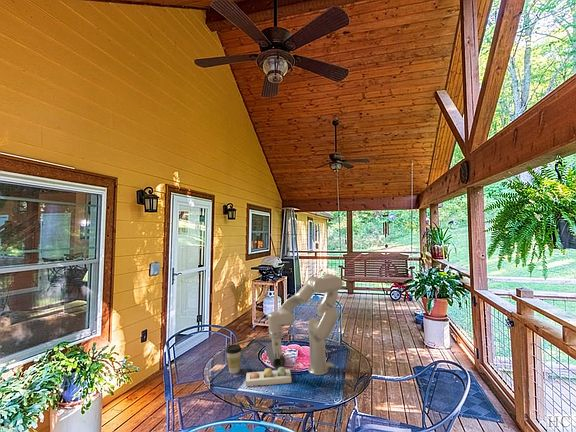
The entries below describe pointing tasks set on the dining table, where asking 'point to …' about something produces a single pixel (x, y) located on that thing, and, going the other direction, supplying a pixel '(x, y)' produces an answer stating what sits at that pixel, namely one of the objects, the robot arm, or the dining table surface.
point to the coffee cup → (234, 358)
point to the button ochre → (268, 372)
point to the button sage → (281, 371)
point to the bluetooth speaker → (272, 358)
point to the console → (268, 378)
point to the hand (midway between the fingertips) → (278, 364)
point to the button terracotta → (254, 375)
